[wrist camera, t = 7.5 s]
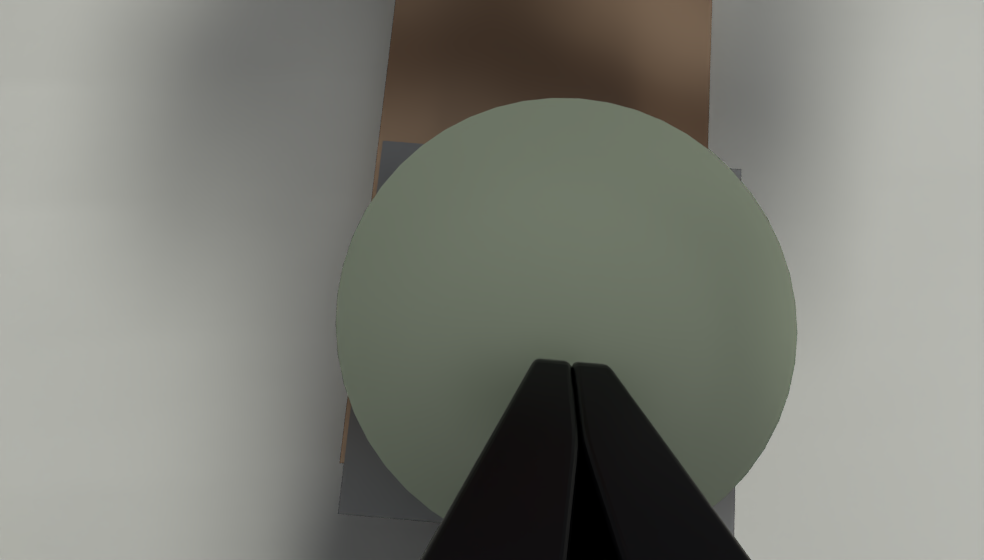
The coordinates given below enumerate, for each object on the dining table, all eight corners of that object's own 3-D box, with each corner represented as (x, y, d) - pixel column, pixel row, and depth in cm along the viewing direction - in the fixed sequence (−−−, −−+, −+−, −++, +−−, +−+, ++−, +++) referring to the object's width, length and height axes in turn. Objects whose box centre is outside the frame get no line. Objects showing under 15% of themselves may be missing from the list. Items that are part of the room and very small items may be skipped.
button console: (688, 489, 17) (834, 557, 10) (346, 459, 17) (240, 504, 10) (709, -197, 21) (828, -520, 14) (427, -218, 21) (392, -548, 14)
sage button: (670, 503, 13) (795, 578, 8) (382, 478, 13) (307, 534, 8) (680, 224, 14) (798, 115, 9) (413, 202, 14) (364, 80, 9)
